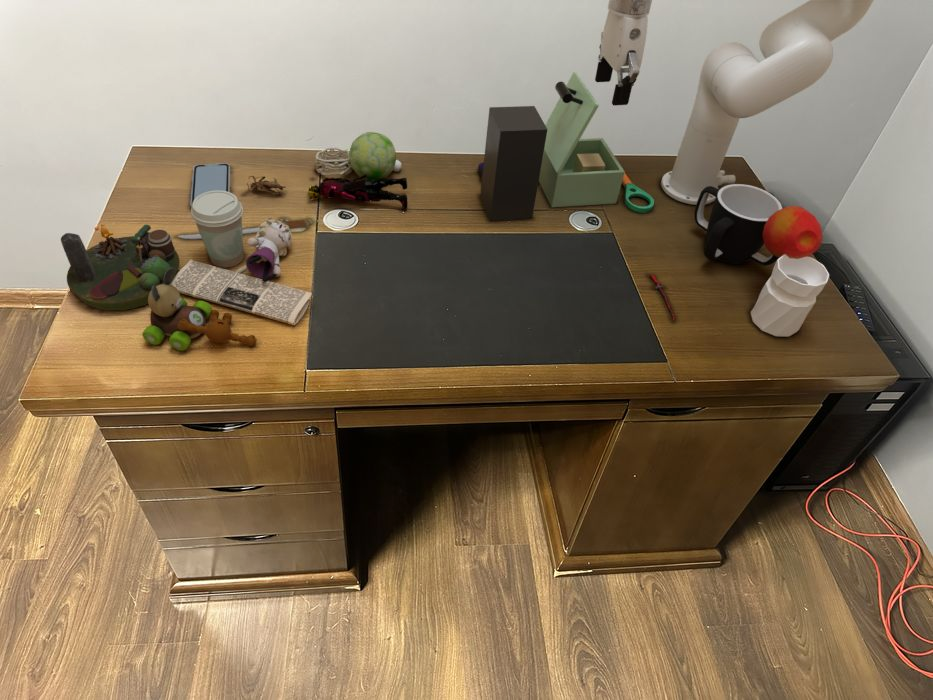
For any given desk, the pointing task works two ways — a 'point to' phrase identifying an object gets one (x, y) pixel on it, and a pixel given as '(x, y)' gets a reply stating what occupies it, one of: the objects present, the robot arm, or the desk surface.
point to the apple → (792, 233)
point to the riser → (512, 162)
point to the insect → (265, 185)
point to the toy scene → (119, 267)
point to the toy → (268, 249)
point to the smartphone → (210, 179)
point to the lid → (568, 120)
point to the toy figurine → (218, 329)
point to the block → (588, 163)
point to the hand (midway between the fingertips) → (610, 92)
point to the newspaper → (242, 292)
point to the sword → (293, 226)
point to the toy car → (173, 315)
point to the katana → (659, 287)
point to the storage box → (582, 178)
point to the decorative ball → (372, 156)
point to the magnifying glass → (636, 192)
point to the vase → (789, 295)
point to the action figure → (359, 189)
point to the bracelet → (326, 159)
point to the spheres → (397, 166)
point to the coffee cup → (220, 226)
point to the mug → (736, 223)
